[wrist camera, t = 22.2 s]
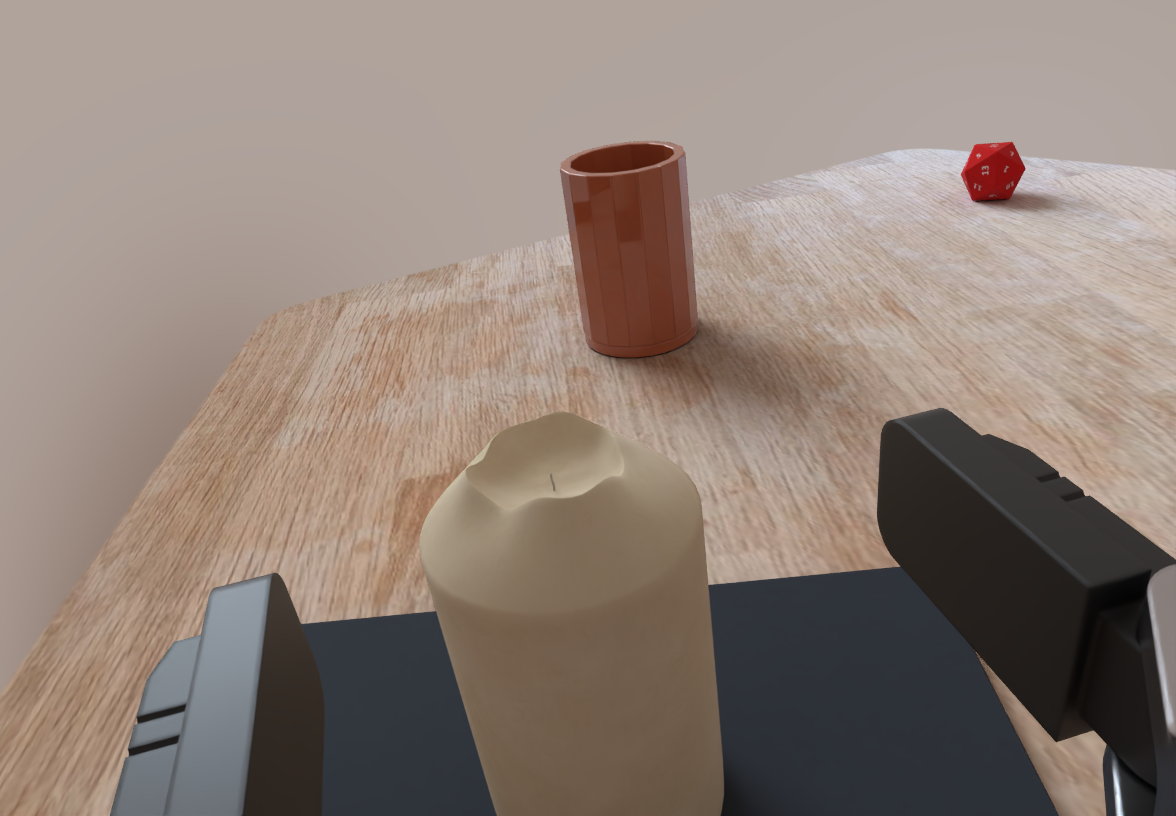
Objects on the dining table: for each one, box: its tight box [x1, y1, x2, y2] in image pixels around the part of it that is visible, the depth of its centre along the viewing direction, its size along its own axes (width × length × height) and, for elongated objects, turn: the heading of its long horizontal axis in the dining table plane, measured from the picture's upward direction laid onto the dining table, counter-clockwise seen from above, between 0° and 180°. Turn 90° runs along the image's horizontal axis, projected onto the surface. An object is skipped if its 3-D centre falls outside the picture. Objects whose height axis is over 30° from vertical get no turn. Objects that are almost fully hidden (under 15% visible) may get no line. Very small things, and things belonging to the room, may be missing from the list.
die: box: [961, 142, 1025, 201], centre depth 54 cm, size 4×3×4 cm
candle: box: [419, 412, 724, 816], centre depth 19 cm, size 6×6×10 cm
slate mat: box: [301, 567, 1059, 816], centre depth 21 cm, size 20×14×1 cm
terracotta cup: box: [560, 141, 698, 358], centre depth 42 cm, size 6×6×9 cm
